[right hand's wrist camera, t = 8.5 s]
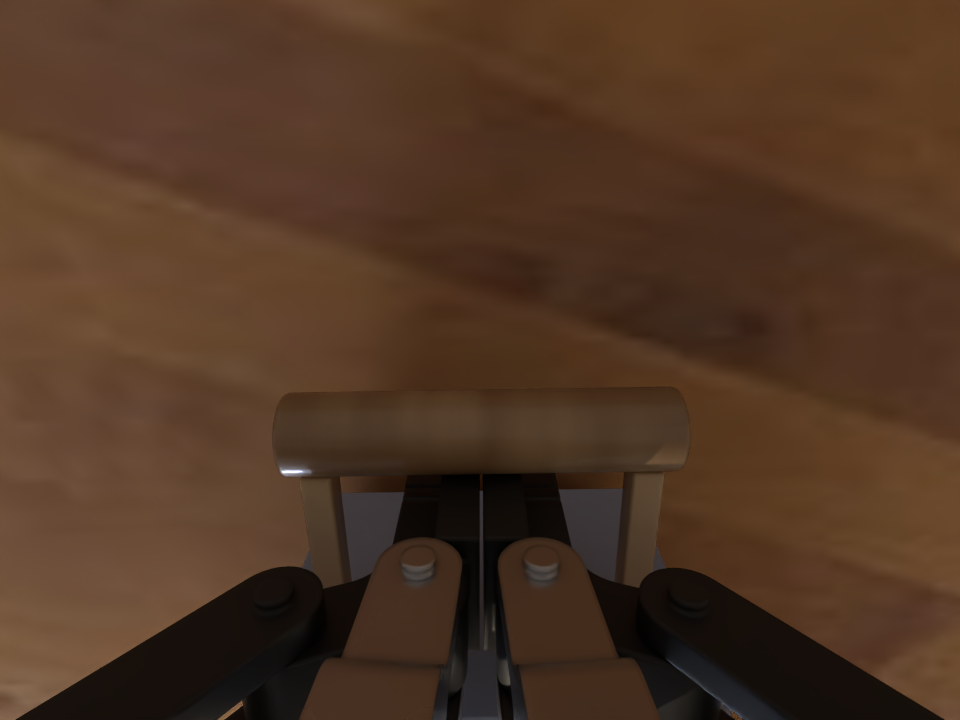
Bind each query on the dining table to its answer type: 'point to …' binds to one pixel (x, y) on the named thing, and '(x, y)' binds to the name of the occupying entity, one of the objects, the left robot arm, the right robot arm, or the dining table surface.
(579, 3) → the dining table surface
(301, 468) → the drawer
